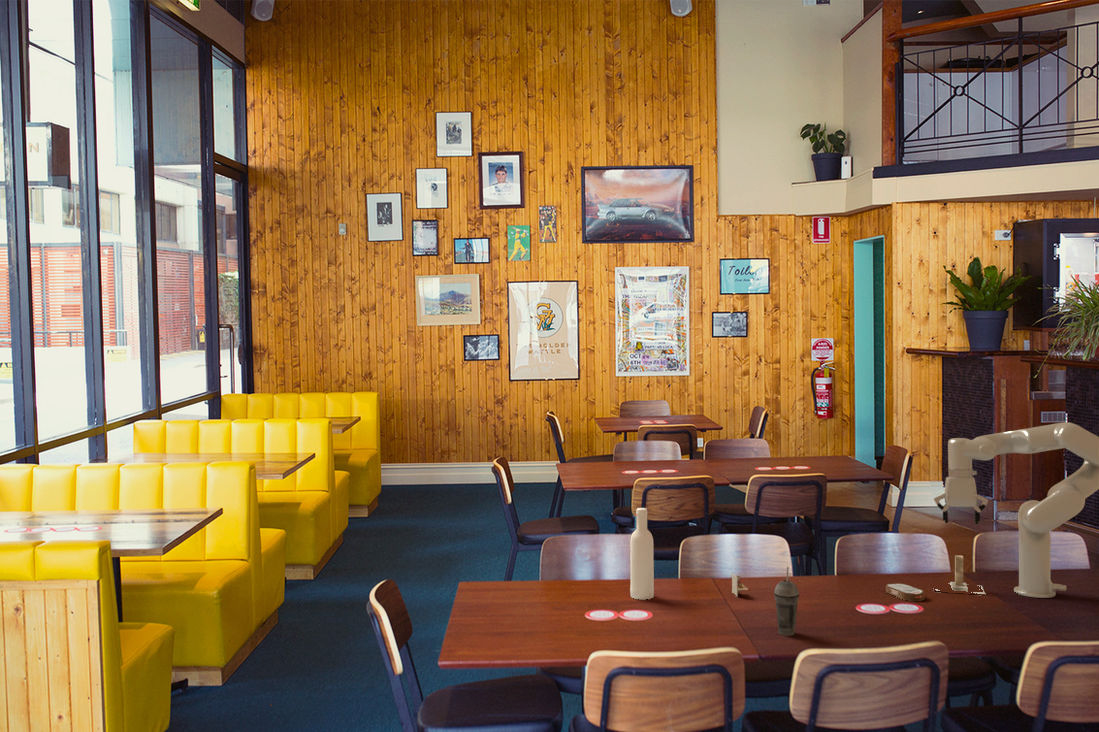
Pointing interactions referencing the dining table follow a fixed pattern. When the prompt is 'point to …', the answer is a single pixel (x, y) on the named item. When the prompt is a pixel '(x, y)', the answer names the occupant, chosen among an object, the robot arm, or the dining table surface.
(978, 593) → the tool mat
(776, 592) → the beverage cup
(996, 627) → the dining table surface
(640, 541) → the bottle
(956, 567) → the beige post on base
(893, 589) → the tin
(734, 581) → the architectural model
